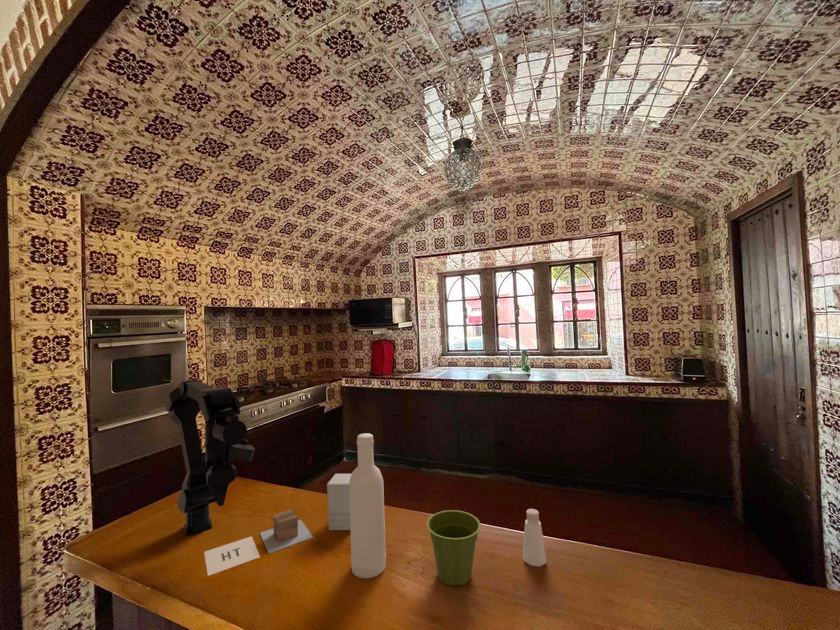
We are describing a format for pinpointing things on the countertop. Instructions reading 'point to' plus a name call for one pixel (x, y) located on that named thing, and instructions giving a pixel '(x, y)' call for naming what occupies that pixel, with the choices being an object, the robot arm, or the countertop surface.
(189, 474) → the robot arm
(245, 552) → the card
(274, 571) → the countertop surface
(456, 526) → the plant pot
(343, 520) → the supplement box
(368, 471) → the bottle
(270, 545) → the grey mat
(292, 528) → the walnut block
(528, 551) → the salt shaker
